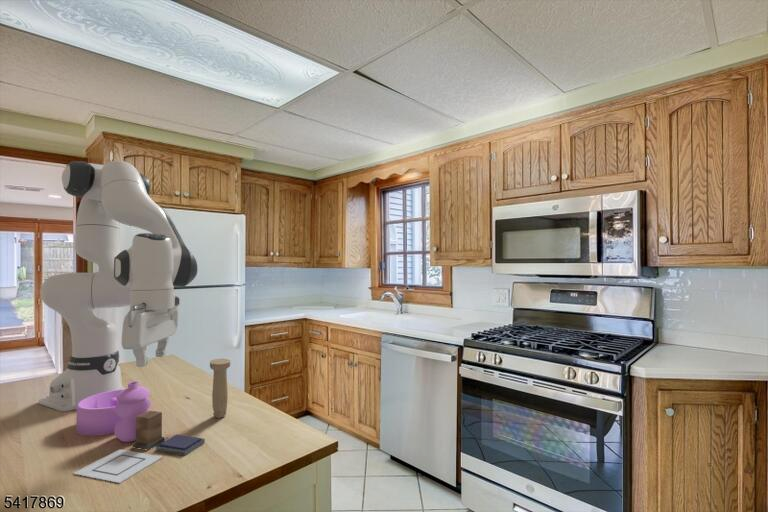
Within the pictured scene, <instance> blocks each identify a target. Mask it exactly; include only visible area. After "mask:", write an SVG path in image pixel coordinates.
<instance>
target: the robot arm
mask: <svg viewBox="0 0 768 512" xmlns="http://www.w3.org/2000/svg"><path fill="white" fill-rule="evenodd" d="M137 169H138V168H136V167H135V166H134V165H132V164H131V163H129V162H127V161H123V160H113V161H109V162H107V163H105V164H99V163H91V162H90V163H89V162H87V161H82V160H78V161H77V160H73V161H71V162H69V163H67V164H66V165H65V168H64V169H63V171H62V172H61V182H62V186H63V190H64V191H65V192H66V193H67V194H69V195H70V196H73V197H76V198H80V199H81V200H80V203H79V206H78V209H77V215H76V220H75V221H76V222H75V241H74V250H75V253H76V255H77V256H79V257H80V258H82V259H83V260H85V261H89V262H91V263H94V264H96V265H97V267H98V271H96V272H95V271H94V272H66V273H59V274H55V275H49V277H47V278H46V279H45V280H44V282H42V284H41V287H40V291H39V293H40V298H41V301H42V302H43V303H44V305H46V306H47V307H49V308H50V309H52V310H53V311H55V312H56V313H58V314H59V315H61V317H62V318H63V319H64V321H65V322H66V323H67V325H68V328H69V330H70V337H71V352H72V353H71V356H69V357H65V362H66V363H67V366H66V369H65V370H64V371H63V372H61V373H60V374H59V375H58V376H56V377H55V378H54V379H52V381H51V382H50V384H49V390H48V394H47V395H46V396H43V397H41V398H40V399H38V402H37V403H38V404H39V405H42V406H43V407H44V406H45V407H47V408H51V409H53V410H56V411H58V412H68V411H73V410H77V403H78V402H79V401H81V400H83V399H85V398H87V397H89V396H92V395H95V394H99V393H103V392H108V391H113V390H120V389H126V388H125V386H123V383H122V380H123V379H122V371H121V367H120V365H119V363H120V351H119V350H118V327H117V325H115V323H113V322H111V321H109V320H107V319H104V318H102V317H99V316H98V315H97V314H96V313H95V311H94V309H104V308H105V309H106V308H107V309H108V308H123V307H127V306H128V307H129V311H128V312H127V313H126V315H125V316H124V318H123V322H122V331H121V347H122V349H123V350H132V354H133V355H134V359H135V362H136V363H135V366H136V367H138V368H143V367H146V366H147V365H148V364H149V356H147V353H146V351H147V346H149V345H152V344H155V343H157V345H156V346H157V347H156V349H155V357H156V358H163V357H164V356H166V354H167V347H168V343H169V337H171V336H174V335H176V333H177V331H178V324H179V309H178V308H179V306H180V305H181V298H180V297H179V296H178V295H176V293H175V292H174V289H175V288H185V287H186V286H188V285H189V284H190V283H192V282H193V281H194V279H195V278H196V277H197V274H198V262H197V260H196V258H195V256H194V255H193V252H191V250H189V248H188V247H187V246H186V244H185V242H184V239H183V238H182V236H181V235H180V233H179V231H178V229H177V227H176V225H175V224H174V222H173V220H172V218H171V216H170V215H169V214H168V212H167V210H166V209H164V208H163V207H161V206H160V205H158V204H157V203H156V202H155V201H154V200H153V199H152V198H151V197H150V193H151V183H150V179H149V178H148V177H147V176H146V175H145V174H142V173H140V172H139V171H138V170H137ZM120 224H122V225H125V226H130V227H134V228H138V229H141V230H144V231H147V232H149V233H147V232H145V233H143V232H142V233H138V234H135V235H134V236H133V238H132V241H131V242H132V244H131V247H129V248H128V249H124V250H122V251H121V246H120V245H121V244H120V243H121V241H120V232H121V230H120V228H121V225H120Z"/></svg>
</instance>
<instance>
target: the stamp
mask: <svg viewBox="0 0 768 512" xmlns="http://www.w3.org/2000/svg"><path fill="white" fill-rule="evenodd" d="M162 418H163V413H162V411H155V410H148V411H147V412H145V413H143V414H141V415H139V416H136V441H134V442H133V443H132V448H133V447H135V448H134V449H137V448H141V449H140V450H143V449H147V450H146V451H150V450H152V449H154V448H156V446H157V445H159V444H160V443H162V442H164V441H166V437H165V436H162V435H163V434H162V433H163V432H162V431H163V429H162V428H163V426H162V424H163V419H162ZM151 448H152V449H151Z"/></svg>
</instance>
